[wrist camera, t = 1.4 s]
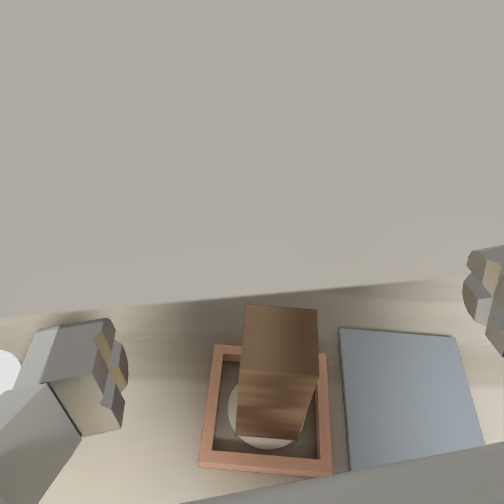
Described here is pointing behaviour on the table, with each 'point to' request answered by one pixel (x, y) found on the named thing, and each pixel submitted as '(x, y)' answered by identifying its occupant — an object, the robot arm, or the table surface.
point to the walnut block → (276, 371)
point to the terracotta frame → (258, 461)
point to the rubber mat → (404, 397)
